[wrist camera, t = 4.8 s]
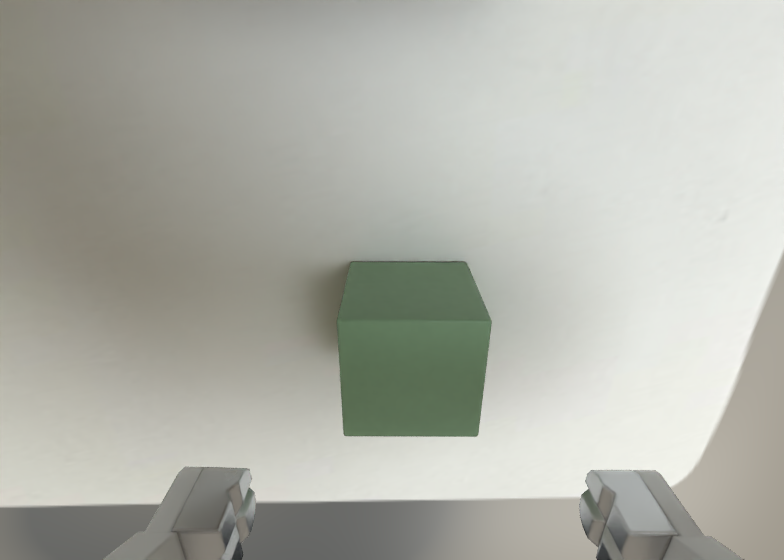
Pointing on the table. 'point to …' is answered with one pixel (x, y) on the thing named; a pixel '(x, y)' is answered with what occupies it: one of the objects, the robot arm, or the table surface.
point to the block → (412, 349)
